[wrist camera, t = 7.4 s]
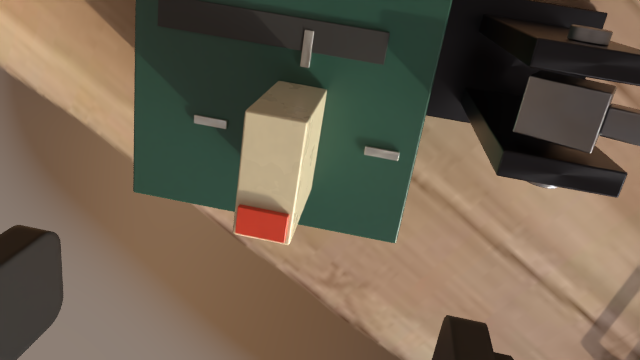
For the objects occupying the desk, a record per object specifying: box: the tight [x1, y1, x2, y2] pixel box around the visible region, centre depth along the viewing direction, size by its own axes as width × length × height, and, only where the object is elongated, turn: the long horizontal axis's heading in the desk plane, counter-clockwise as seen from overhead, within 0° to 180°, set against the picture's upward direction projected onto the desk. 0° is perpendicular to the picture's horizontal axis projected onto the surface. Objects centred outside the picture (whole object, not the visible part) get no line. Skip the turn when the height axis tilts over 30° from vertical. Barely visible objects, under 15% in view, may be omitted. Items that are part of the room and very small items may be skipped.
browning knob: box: [233, 81, 327, 245], centre depth 19 cm, size 4×2×5 cm, turn 171°
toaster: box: [133, 0, 452, 243], centre depth 26 cm, size 12×12×11 cm
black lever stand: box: [426, 0, 640, 197], centre depth 24 cm, size 8×7×13 cm
